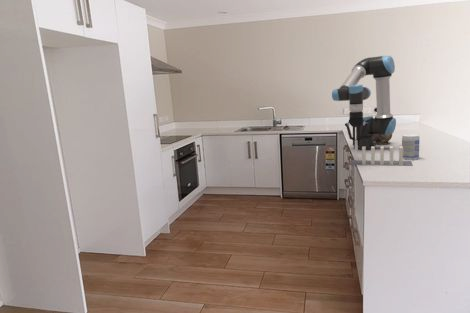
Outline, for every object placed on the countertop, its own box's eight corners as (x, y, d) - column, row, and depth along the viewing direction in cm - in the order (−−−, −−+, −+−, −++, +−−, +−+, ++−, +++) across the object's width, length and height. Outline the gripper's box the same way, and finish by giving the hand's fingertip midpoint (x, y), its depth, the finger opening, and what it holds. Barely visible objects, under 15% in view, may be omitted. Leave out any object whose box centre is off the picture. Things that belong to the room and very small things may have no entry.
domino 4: (389, 163, 205) (389, 146, 203) (392, 163, 204) (393, 146, 202) (389, 165, 200) (389, 148, 198) (393, 165, 199) (393, 147, 197)
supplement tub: (418, 160, 207) (419, 136, 204) (401, 160, 211) (401, 136, 208) (419, 157, 215) (419, 134, 212) (402, 157, 219) (402, 134, 217)
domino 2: (371, 162, 208) (371, 146, 207) (374, 162, 208) (374, 146, 206) (371, 164, 204) (371, 148, 202) (374, 164, 203) (374, 148, 201)
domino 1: (362, 162, 210) (362, 146, 209) (365, 162, 210) (365, 146, 208) (362, 164, 206) (362, 148, 204) (365, 164, 205) (365, 148, 203)
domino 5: (398, 163, 203) (399, 146, 201) (402, 163, 202) (402, 146, 200) (399, 165, 198) (399, 147, 196) (402, 165, 197) (403, 147, 195)
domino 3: (380, 162, 206) (380, 146, 205) (383, 163, 206) (383, 146, 204) (380, 164, 202) (380, 148, 200) (383, 164, 201) (383, 148, 199)
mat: (351, 160, 219) (351, 160, 219) (411, 161, 206) (411, 161, 206) (349, 165, 207) (349, 164, 207) (412, 166, 194) (412, 165, 194)
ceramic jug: (366, 143, 275) (366, 105, 269) (382, 141, 279) (383, 103, 273) (381, 146, 259) (381, 106, 253) (398, 144, 263) (399, 104, 257)
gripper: (343, 112, 203) (344, 151, 207) (367, 111, 198) (367, 152, 202) (345, 111, 209) (345, 149, 214) (368, 110, 204) (368, 149, 209)
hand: (356, 150), depth 208 cm, fingers closed
